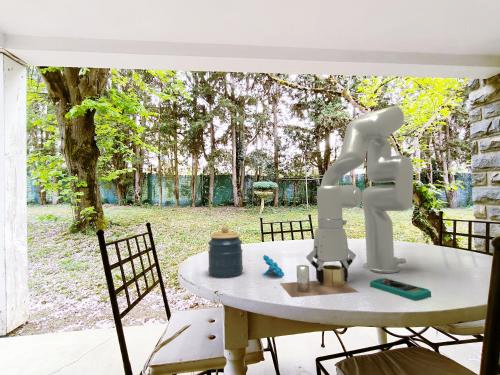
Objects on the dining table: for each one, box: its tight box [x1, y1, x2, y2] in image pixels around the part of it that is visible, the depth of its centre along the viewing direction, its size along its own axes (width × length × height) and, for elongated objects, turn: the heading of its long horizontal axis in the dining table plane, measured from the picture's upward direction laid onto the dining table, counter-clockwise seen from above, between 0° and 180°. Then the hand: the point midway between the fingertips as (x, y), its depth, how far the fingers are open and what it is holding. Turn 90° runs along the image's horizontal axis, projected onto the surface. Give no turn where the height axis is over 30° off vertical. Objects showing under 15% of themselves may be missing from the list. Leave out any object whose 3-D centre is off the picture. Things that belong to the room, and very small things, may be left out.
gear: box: [262, 254, 285, 278], centre depth 101 cm, size 11×6×10 cm
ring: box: [320, 264, 346, 287], centre depth 89 cm, size 7×7×5 cm
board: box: [279, 280, 360, 298], centre depth 85 cm, size 20×13×1 cm, turn 99°
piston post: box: [296, 264, 310, 293], centre depth 83 cm, size 4×4×7 cm
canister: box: [207, 225, 244, 279], centre depth 106 cm, size 13×13×18 cm
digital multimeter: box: [369, 277, 432, 302], centre depth 81 cm, size 7×15×3 cm, turn 27°
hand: (332, 280), depth 89 cm, fingers closed on ring, 7 cm apart
